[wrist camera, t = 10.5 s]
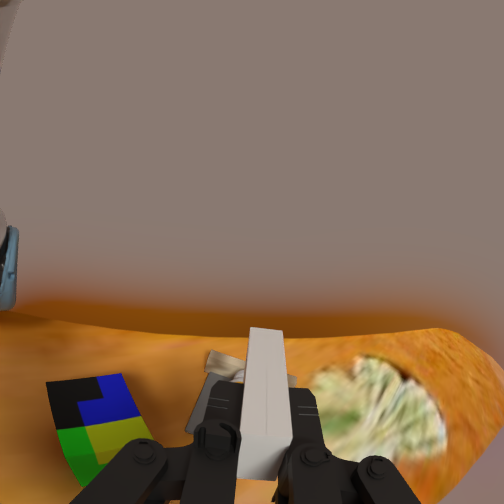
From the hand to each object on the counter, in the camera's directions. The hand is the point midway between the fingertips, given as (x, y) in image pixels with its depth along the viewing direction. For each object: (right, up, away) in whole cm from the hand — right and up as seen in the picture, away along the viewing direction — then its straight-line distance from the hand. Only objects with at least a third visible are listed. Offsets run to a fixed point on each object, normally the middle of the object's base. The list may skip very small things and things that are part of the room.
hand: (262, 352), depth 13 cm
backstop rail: (-1, -19, +35) cm, 40 cm away
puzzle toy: (-20, -21, +14) cm, 32 cm away
